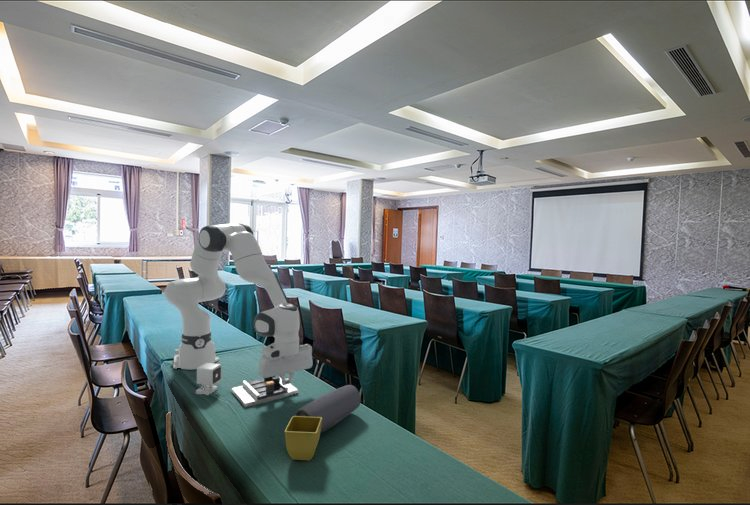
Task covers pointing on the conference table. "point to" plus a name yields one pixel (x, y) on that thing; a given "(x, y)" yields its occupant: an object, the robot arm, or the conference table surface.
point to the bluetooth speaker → (332, 406)
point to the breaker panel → (262, 391)
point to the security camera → (208, 377)
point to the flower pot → (302, 436)
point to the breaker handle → (269, 387)
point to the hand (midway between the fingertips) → (286, 383)
